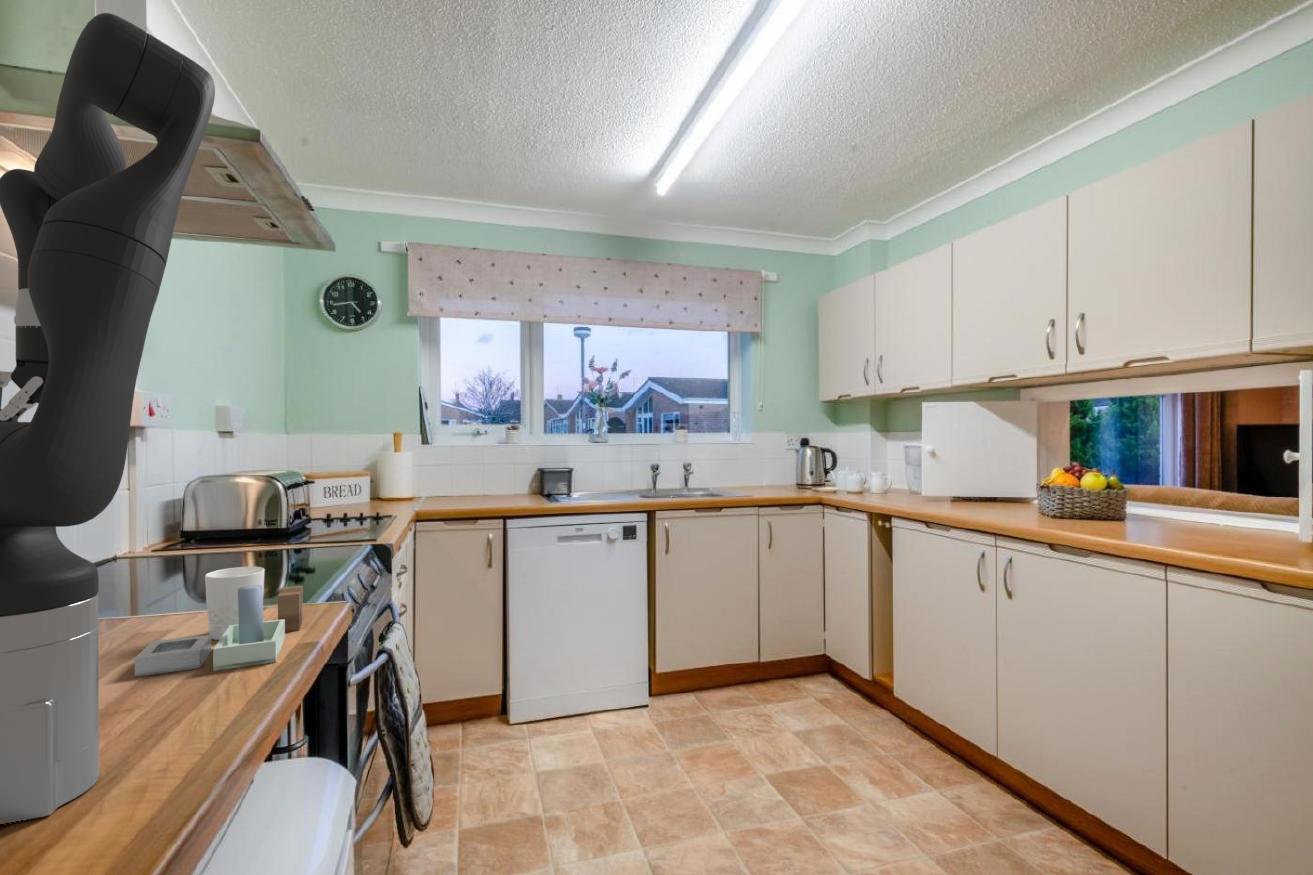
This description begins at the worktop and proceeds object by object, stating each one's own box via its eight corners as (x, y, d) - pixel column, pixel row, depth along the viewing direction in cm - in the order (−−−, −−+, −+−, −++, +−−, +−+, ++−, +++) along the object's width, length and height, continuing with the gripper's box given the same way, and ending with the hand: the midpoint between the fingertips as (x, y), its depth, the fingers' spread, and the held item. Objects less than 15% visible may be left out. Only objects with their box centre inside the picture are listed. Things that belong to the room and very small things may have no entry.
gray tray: (199, 668, 82) (199, 649, 82) (134, 677, 79) (134, 658, 79) (211, 651, 89) (211, 634, 89) (151, 659, 86) (151, 641, 86)
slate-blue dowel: (262, 650, 87) (260, 588, 87) (237, 653, 86) (235, 591, 86) (265, 644, 90) (264, 584, 90) (241, 647, 89) (240, 586, 89)
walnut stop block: (299, 630, 98) (299, 593, 98) (277, 632, 97) (277, 595, 97) (302, 620, 104) (302, 585, 104) (282, 622, 102) (282, 587, 102)
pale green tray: (275, 662, 85) (275, 641, 85) (213, 671, 81) (213, 649, 81) (284, 638, 95) (284, 619, 95) (229, 645, 91) (229, 625, 91)
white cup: (226, 644, 92) (225, 579, 92) (193, 638, 95) (193, 574, 95) (275, 629, 99) (275, 568, 99) (244, 623, 102) (244, 564, 102)
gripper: (134, 336, 86) (134, 448, 86) (-2, 328, 80) (-2, 449, 80) (115, 328, 80) (115, 450, 80) (-36, 318, 73) (-35, 451, 73)
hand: (57, 449), depth 80 cm, fingers open, 8 cm apart
